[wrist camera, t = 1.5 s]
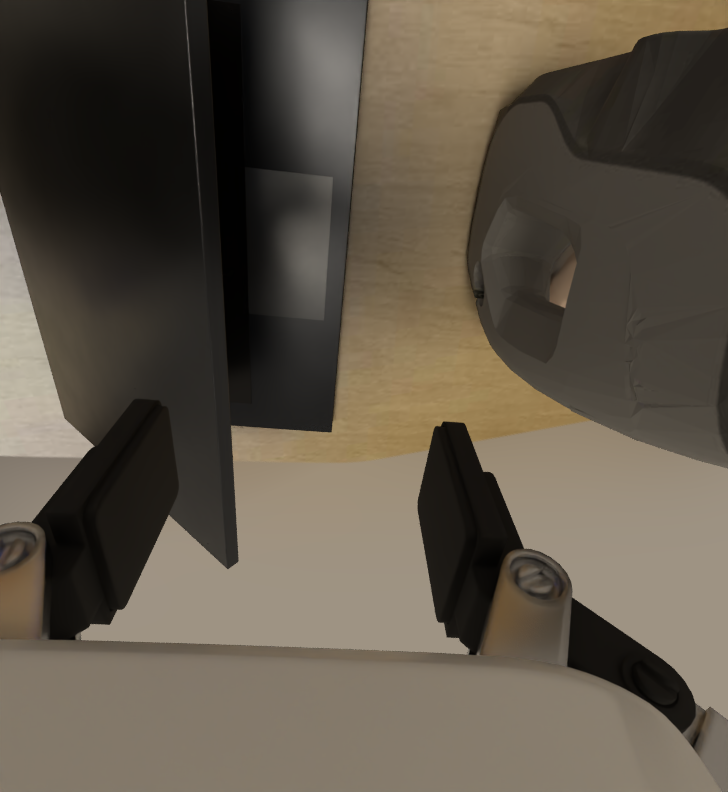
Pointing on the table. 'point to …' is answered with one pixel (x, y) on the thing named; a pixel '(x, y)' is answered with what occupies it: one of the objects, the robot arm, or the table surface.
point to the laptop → (284, 197)
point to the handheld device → (616, 241)
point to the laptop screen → (124, 225)
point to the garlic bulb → (562, 277)
